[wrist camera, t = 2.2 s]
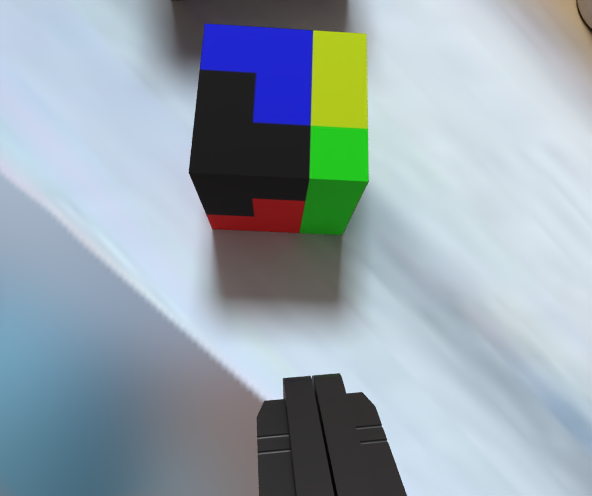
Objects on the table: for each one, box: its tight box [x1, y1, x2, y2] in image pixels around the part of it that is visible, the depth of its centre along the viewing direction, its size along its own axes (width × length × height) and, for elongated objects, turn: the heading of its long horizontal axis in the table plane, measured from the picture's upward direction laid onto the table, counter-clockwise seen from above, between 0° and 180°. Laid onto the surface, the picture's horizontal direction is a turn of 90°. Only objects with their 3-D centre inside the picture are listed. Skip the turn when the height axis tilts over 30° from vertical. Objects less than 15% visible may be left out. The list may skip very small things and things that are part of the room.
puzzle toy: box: [189, 24, 369, 235], centre depth 31 cm, size 10×10×10 cm
